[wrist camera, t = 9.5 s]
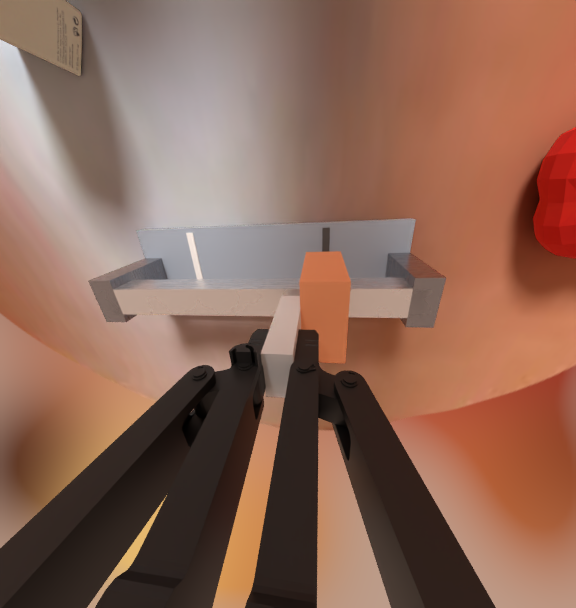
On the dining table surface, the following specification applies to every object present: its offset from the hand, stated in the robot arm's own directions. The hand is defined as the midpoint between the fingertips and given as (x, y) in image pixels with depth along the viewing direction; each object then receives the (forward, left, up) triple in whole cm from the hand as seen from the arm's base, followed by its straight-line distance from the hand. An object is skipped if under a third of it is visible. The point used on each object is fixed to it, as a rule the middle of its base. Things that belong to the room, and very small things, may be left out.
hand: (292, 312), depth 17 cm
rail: (-3, -2, -10) cm, 10 cm away
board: (-3, -2, -10) cm, 10 cm away
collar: (+2, +1, -6) cm, 6 cm away
